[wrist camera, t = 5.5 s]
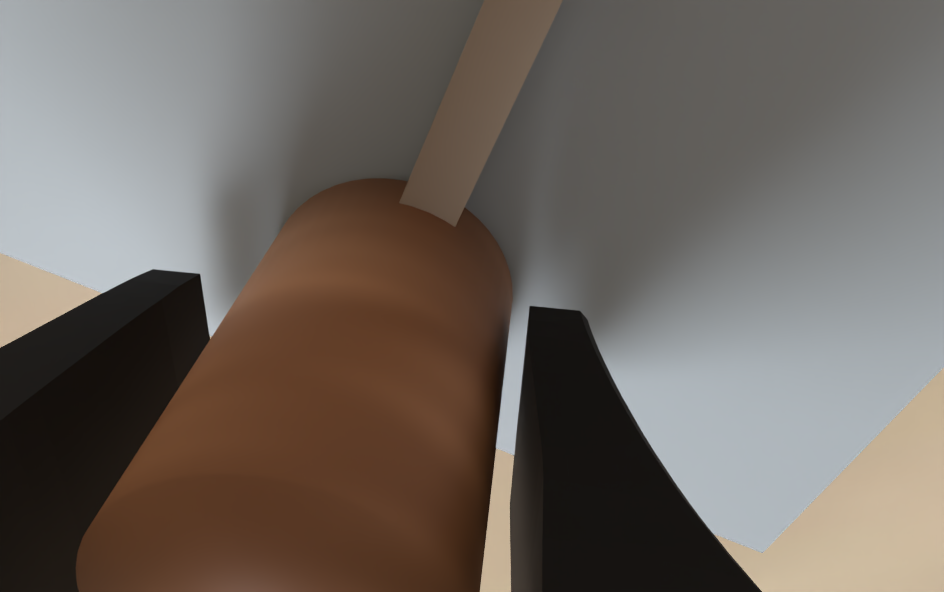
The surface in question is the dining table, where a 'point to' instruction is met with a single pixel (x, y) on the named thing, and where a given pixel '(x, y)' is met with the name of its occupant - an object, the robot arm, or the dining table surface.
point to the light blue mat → (542, 192)
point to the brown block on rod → (344, 383)
